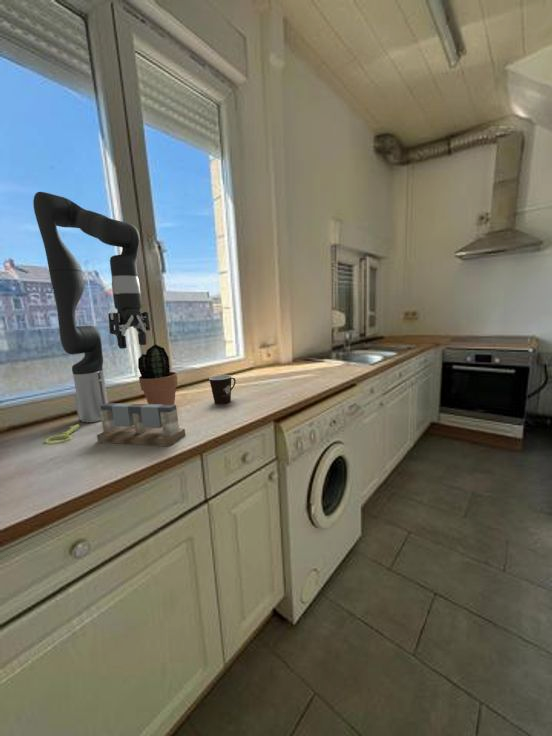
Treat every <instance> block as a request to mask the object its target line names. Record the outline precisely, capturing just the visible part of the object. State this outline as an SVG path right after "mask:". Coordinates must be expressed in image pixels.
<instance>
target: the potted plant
mask: <svg viewBox="0 0 552 736" xmlns="http://www.w3.org/2000/svg"><path fill="white" fill-rule="evenodd" d="M137 363H138V364H137V368H138V370H139V373H140V376H139V377H138V379H139V380H138V381H139V386H140V389H141V391H142V392H143V394H144V396H145V399H146V402H147V404H162V405H176V404H175V402H176V401H175V400H176V391H177V386H178V385H179V384H178V373H177V372H174V371H171V369H170V368H171V366H170V357H169V355H168V354H167V352H166V349H165V348H164V347H162V346H161V345H158V344H153V345H152V346H151V347H149V348H147V349H146V353H142V355H140V357H139V358H138V360H137Z"/></svg>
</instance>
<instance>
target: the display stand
mask: <svg viewBox="0 0 552 736" xmlns="http://www.w3.org/2000/svg"><path fill="white" fill-rule="evenodd" d="M100 414H101V420H100V421H101V424H102V425H101V426H102V432H100V433H98V434H96V439H97V443H98V442H99V443H114V444H115V443H116V444H130V445H144V446H155V445H157V446H156V447H170V445H171V444H172V445H174V444H175V443H176V442H178V441H179V440H181V439H182V438H183V437H185V436H186V430H185V428H182V427H181V428H180V427H179V418H178V410H177V407H176V409H175V410H174V411H172V412H161V420H162V427H161V428H147V427H143V422H142V414H133V418H134V425H133V426H131V427H127V426H115V425H114V419H113V412H112V410H100ZM177 440H178V441H177ZM174 442H175V443H174ZM172 445H171V446H172Z"/></svg>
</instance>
